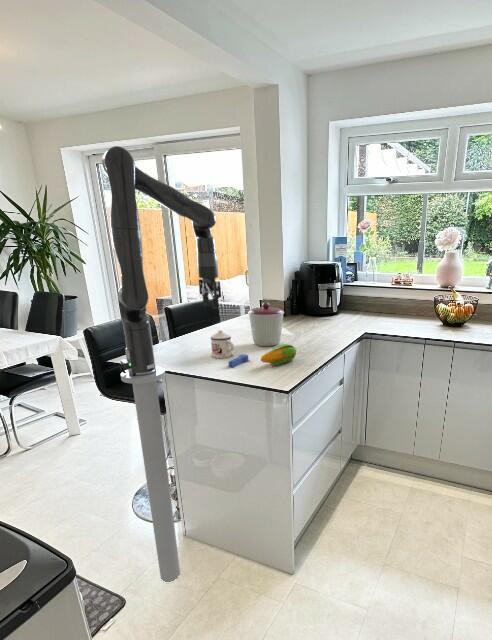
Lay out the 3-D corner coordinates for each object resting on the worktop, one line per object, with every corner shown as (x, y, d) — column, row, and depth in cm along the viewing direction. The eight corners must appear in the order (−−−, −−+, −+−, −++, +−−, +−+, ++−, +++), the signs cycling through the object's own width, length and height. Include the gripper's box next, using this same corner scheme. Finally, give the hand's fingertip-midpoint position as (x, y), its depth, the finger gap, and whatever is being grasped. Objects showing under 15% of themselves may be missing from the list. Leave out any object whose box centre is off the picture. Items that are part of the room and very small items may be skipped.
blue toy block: (234, 367, 163) (234, 362, 163) (226, 366, 165) (226, 361, 164) (250, 360, 174) (249, 354, 173) (242, 359, 176) (242, 353, 175)
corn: (300, 342, 173) (267, 351, 159) (301, 359, 175) (268, 369, 161) (288, 341, 177) (254, 349, 163) (289, 357, 180) (256, 367, 166)
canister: (270, 350, 191) (269, 306, 184) (241, 345, 199) (239, 303, 192) (291, 342, 205) (291, 301, 198) (263, 338, 214) (262, 299, 207)
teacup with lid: (207, 356, 180) (205, 330, 176) (222, 352, 187) (220, 327, 183) (226, 360, 174) (224, 334, 170) (240, 356, 181) (239, 330, 177)
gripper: (190, 264, 156) (194, 305, 162) (206, 266, 146) (210, 310, 151) (208, 263, 161) (211, 304, 166) (225, 265, 150) (228, 308, 156)
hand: (211, 307), depth 159 cm, fingers open, 8 cm apart
